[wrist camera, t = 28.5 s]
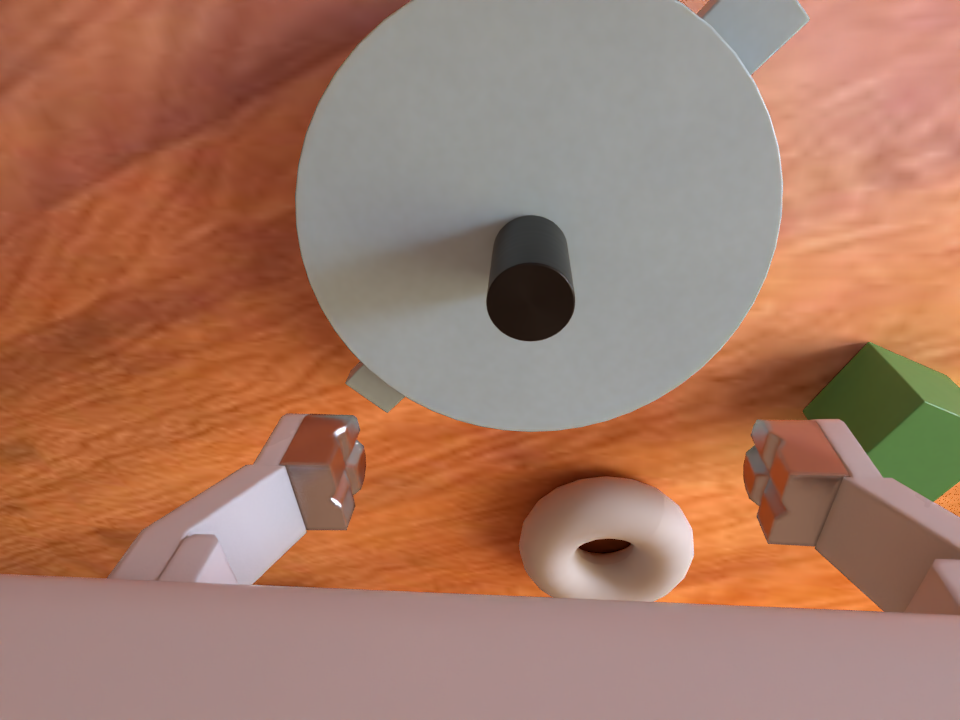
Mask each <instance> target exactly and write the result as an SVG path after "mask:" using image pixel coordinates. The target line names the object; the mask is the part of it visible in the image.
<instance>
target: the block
mask: <svg viewBox="0 0 960 720" xmlns="http://www.w3.org/2000/svg"><path fill="white" fill-rule="evenodd" d="M803 413H804V415H805V416H806V418H807V419H808V420H811V419H840V420H841V421H843V422H844V423H845V424H846V425H847V427H848V428H849V430H850V431H851V432H852V434H853V435H854V437H855V438H856V440H857V441H858V442H859V444H860V445H861V447H862V448H863V450H864V451H865V452H866V454H867V455H868V457H869V458H870V460H871V461H872V462H873V464H874V465H875V467H876V468H877V469H878V471H879V472H880V474H881V475H882V477H883V478H893V479H894V480H896V481H898V482H900V483H901V484H903V485H905V486H906V487H908V488H910V489H912V490H913V491H915V492H917V493H919V494H920V495H922V496H924V497H925V498H927V499H929V500H931V501H932V502H934V501H935V500H936V499H938V498H939V497H940V496H941V495H943V494H944V493H945V492H947V491H948V490H949V489H950V488H952V487H953V486H954V485H955V484H957V483H958V482H959V481H960V388H959V387H958V386H957V385H956V384H955V383H954V382H953V381H952V380H951V379H950V378H949V377H947V376H946V375H944V374H942V373H939V372H937V371H935V370H932V369H930V368H928V367H926V366H923V365H921V364H919V363H916V362H914V361H912V360H909V359H907V358H905V357H903V356H900V355H898V354H896V353H893V352H891V351H889V350H886V349H884V348H882V347H879V346H877V345H875V344H873V343H870V342H868V343H867V344H866V345H865V346H864V347H863V348H862V349H861V350H860V351H859V352H858V353H857V354H856V355H855V356H854V357H853V358H852V360H851V361H850V362H849V363H848V364H847V365H846V366H845V367H844V368H843V369H842V370H841V371H840V372H839V373H838V374H837V375H836V376H835V377H834V378H833V379H832V381H831V382H830V383H829V384H828V385H827V386H826V387H825V388H824V389H823V390H822V391H821V392H820V393H819V394H818V395H817V396H816V397H815V398H814V399H813V400H812V402H811V403H810V404H809V405H808V406H807V407H806V408H805V409H804V410H803Z"/></svg>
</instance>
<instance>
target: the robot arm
mask: <svg viewBox="0 0 960 720" xmlns="http://www.w3.org/2000/svg"><path fill="white" fill-rule="evenodd" d="M359 432H360V428H359V424H358V420H357V418H356V417H355V416H353V415H331V414H288V413H287V414H285V415H284V416H282V417H281V418H280V420H279V422H278V423H277V425H276V427H275V428H274V430H273V432H272V433H271V435H270V437H269V439H268V440H267V442H266V444H265V445H264V447H263V449H262V450H261V452H260V454H259V455H258V457H257V459H256V460H255V462H254V464H253V465H245V466H244V467H242V468H240V469H239V470H237V471H236V472H234V473H232V474H231V475H229V476H228V477H226V478H224V479H223V480H221V481H220V482H218V483H216V484H215V485H213V486H212V487H210V488H208V489H207V490H205V491H204V492H202V493H200V494H199V495H197V496H196V497H194V498H192V499H191V500H189V501H188V502H186V503H185V504H183V505H181V506H180V507H178V508H177V509H175V510H173V511H172V512H170V513H169V514H167V515H165V516H164V517H162V518H161V519H159V520H157V521H156V522H154V523H153V524H151V525H149V526H148V527H146V528H145V529H143V530H142V531H141V532H140V533H139V535H138V536H137V538H136V539H135V540H134V542H133V543H132V544H131V546H130V547H129V549H128V550H127V551H126V553H125V554H124V555H123V557H122V558H121V560H120V561H119V562H118V564H117V565H116V566H115V568H114V569H113V571H112V572H111V573H110V575H109V576H108V577H107V579H105V578H81V577H58V576H35V575H12V574H0V720H960V517H958V516H956V515H955V514H953V513H951V512H949V511H948V510H946V509H944V508H943V507H941V506H939V505H937V504H936V503H934V502H932V501H931V500H929V499H927V498H925V497H924V496H922V495H920V494H919V493H917V492H915V491H913V490H912V489H910V488H908V487H906V486H905V485H903V484H901V483H900V482H898V481H896V480H894V479H893V478H883V477H882V475H881V474H880V472H879V471H878V469H877V468H876V467H875V465H874V464H873V462H872V461H871V460H870V458H869V457H868V455H867V454H866V452H865V451H864V450H863V448H862V447H861V445H860V444H859V442H858V441H857V440H856V438H855V437H854V435H853V434H852V432H851V431H850V430H849V428H848V427H847V425H846V424H845V423H844V422H843V421H841V420H840V419H811V420H757V421H756V423H755V424H754V426H753V429H752V433H751V437H752V439H753V441H754V444H755V446H753V447H752V448H751V449H750V450H748V451H747V452H746V456H745V460H744V465H743V477H744V483H745V488H746V491H747V493H748V496H749V499H751V500H752V501H753V502H755V503H756V504H757V505H759V506H760V507H759V510H758V513H757V518H758V521H759V523H760V526H761V528H762V530H763V533H764V535H765V538H766V540H767V542H768V544H782V545H800V546H815V549H816V550H817V551H818V552H819V553H820V554H821V555H822V556H824V557H825V558H826V559H827V560H828V561H829V562H830V563H831V564H832V565H833V566H835V567H836V568H837V569H838V570H839V571H840V572H841V573H842V574H843V575H844V576H846V577H847V578H848V579H849V580H850V581H851V582H852V583H853V584H854V585H855V586H857V587H858V588H859V589H860V590H861V591H862V592H863V593H864V594H865V595H866V596H868V597H869V598H870V599H871V600H872V601H873V602H874V603H875V604H876V605H877V606H878V607H880V608H881V609H882V610H883V611H884V612H876V611H853V610H829V609H804V608H780V607H756V606H734V605H711V604H688V603H666V602H643V601H620V600H597V599H573V598H549V597H526V596H502V595H478V594H455V593H431V592H408V591H385V590H361V589H338V588H314V587H291V586H268V585H252V584H253V583H254V582H255V581H256V580H257V579H258V578H259V577H260V576H262V575H263V574H264V573H265V572H266V571H267V570H268V569H269V568H270V567H271V566H272V565H273V564H274V563H275V562H276V561H277V560H278V559H279V558H280V557H281V556H282V555H284V554H285V553H286V552H287V551H288V550H289V549H290V548H291V547H292V546H293V545H294V544H295V543H296V542H297V541H298V540H299V539H300V538H301V537H302V536H303V535H304V534H306V533H307V531H306V530H347V527H348V525H349V522H350V519H351V516H352V513H353V511H354V508H355V502H354V498H353V495H354V494H356V493H357V492H358V491H359V490H361V488H362V485H363V482H364V478H365V470H366V455H365V450H364V446H363V445H362V444H361V443H360V442H359V441H358V440H356V439H357V437H358V434H359Z"/></svg>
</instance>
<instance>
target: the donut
mask: <svg viewBox="0 0 960 720" xmlns="http://www.w3.org/2000/svg"><path fill="white" fill-rule="evenodd" d="M609 538H610V539H619V540H625V541H627V542H630V543H631V545H630V546H628V547H627V548H625V549H623V550H620V551H616V552H613V553H603V554H599V553H590V552H586V551H584V550H581V549H579V548H578V547H579V546H581V545H582V544H584V543H587V542H590V541H593V540H598V539H609ZM519 549H520V554H521V558H522V561H523V564H524V568H525V570H526V572H527V573H528V575H529V576H530V578H531V579H532V580H533V581H534V582H535V584H536V585H537V586H538V587H539V588H540V589H541V590H542V591H544V592H545V593H547V594H548V595H550V596H552V597H553V598H573V599H597V600H620V601H643V602H654V601H656V600H658V599H660V598H662V597H663V596H665V595H667V594H668V593H669V592H670V591H671V590H672V589H673V588H674V587H675V586H676V585H677V584H679V583H680V582H681V581H682V580H683V579H684V577H685V575H686V573H687V571H688V569H689V566H690V564H691V562H692V559H693V556H694V546H693V531H692V528H691V526H690V524H689V522H688V520H687V519H686V517H685V515H684V514H683V512H682V510H681V508H680V507H679V505H677V504H676V503H675V502H674V501H673V500H671V499H670V498H669V497H667V496H666V495H665V494H663V493H662V492H661V491H660V490H658V489H657V488H655V487H652V486H650V485H647V484H644V483H642V482H639V481H636V480H634V479H626V478H617V477H608V476H605V477H596V478H587V479H580V480H577V481H574V482H571V483H569V484H566V485H563V486H560V487H557V488H556V489H554V490H553V491H551V492H550V493H548V494H547V495H546V496H544V497H543V498H541V499H540V500H539V501H538V502H537V503H536V505H535V506H534V507H533V509H532V510H531V512H530V513H529V514H528V516H527V517H526V519H525V520H524V522H523V526H522V532H521V537H520V542H519Z"/></svg>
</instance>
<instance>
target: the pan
mask: <svg viewBox="0 0 960 720" xmlns="http://www.w3.org/2000/svg"><path fill="white" fill-rule="evenodd" d="M697 15H698V16H699V17H700V18H702V19H703V20H704V21H706V22H707V23H708V24H709V25H711V26H712V28H713V29H714V30H715V31H716V32H717V33H718V34H719V35H720V36H721V37H722V38H723V40H724V41H725V42H726V43H727V44H728V45H729V46H730V47H731V48H732V49H733V50H734V51H735V53H736V54H737V56H738V57H739V59H740V60H741V62H742V63H743V65H744V66H745V68H746V69H747V71H748V72H749V74H750V75H752V74H753V73H754V72H755V71H756V70H757V69H758V68H759V67H760V66H761V65H762V64H763V63H765V62H766V61H767V60H768V59H769V58H770V57H771V56H772V55H773V54H774V53H775V52H776V51H777V50H779V49H780V48H781V47H782V46H783V45H784V44H785V43H786V42H787V41H788V40H789V39H790V38H791V37H793V36H794V35H795V34H796V33H797V32H798V31H799V30H800V29H801V28H802V27H803V26H804V25H805V24H807V23H808V21H809V20H810V19H809V16H808V15H807V13H806V12H805V10H804V9H803V8H802V6H801V5H800V3H799V2H798V0H709V1H708V2H707V3H706V4H705V6H704V7H703V8H702V9H701V10H700V11H699V12H698V13H697ZM346 384H347V385H348V386H349V387H351V388H352V389H354V390H355V391H357V392H358V393H359V394H361V395H362V396H364V397H365V398H367V399H368V400H369V401H371V402H372V403H374V404H375V405H376V406H378V407H379V408H381V409H382V410H384V411H385V412H386V413H388V412H389V411H390V410H391V409H392V408H393V407H394V406H395V405H397V404H398V403H399V402H400V401H401V400H402V399H403V398H404V397H405V396H404V395H402V394H401V393H399V392H398V391H396V390H395V389H393V388H391V387H390V386H388V385H387V384H386V383H385V382H384V381H382V380H381V379H380V378H379V377H377V376H376V375H375V374H374V373H372V372H371V371H370V370H369V369H368V368H367V367H366V366H365V365H364V364H363V363H362V362H361V361H360V362H359V363H358V364H357V365H356V366H355V367H354V368H353V369H352V370H351V371H350V374H349V376H348V378H347V380H346Z"/></svg>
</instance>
